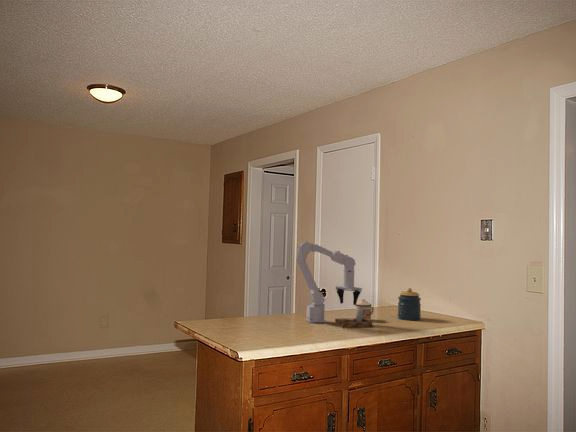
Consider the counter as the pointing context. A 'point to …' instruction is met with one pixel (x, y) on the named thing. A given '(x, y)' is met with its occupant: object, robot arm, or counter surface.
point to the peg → (358, 315)
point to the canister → (409, 305)
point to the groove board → (352, 323)
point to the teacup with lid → (364, 309)
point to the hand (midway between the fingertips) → (348, 304)
